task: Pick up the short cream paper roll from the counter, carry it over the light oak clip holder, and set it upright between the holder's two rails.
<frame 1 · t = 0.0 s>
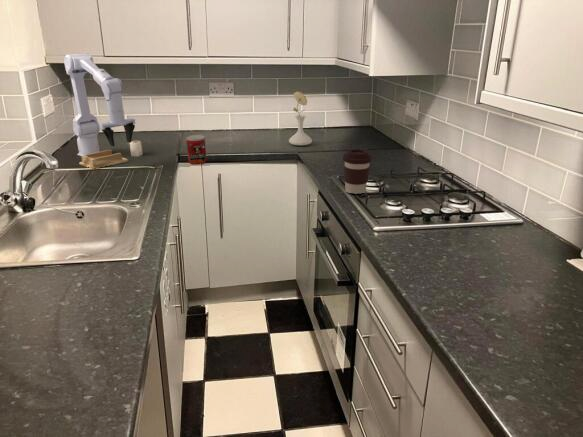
hand: (120, 143, 192), 10 cm above the worktop, tool pointing down, fingers open, 7 cm apart
canned food: (197, 162, 203), on the worktop
paper roll: (136, 154, 214), on the worktop
coffee cup: (355, 192, 169), on the worktop
clip holder: (104, 162, 203), on the worktop
flower in vase: (299, 144, 231), on the worktop
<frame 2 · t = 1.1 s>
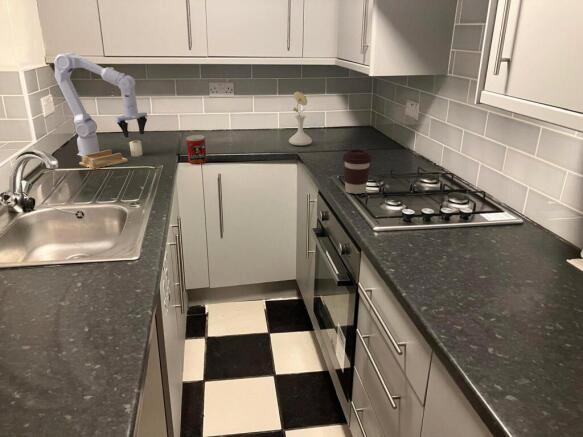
hand: (134, 135, 210), 9 cm above the worktop, tool pointing down, fingers open, 7 cm apart
nothing on the worktop moved.
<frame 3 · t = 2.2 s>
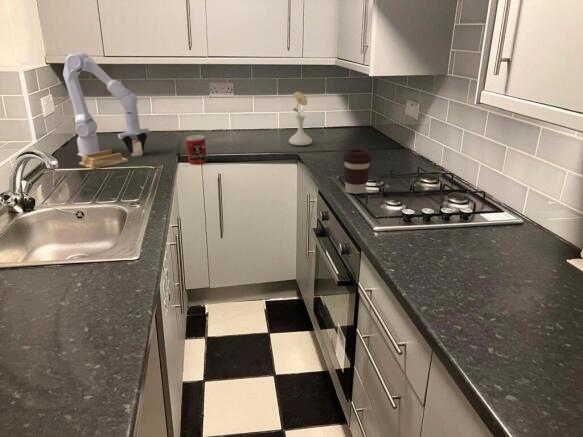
hand: (136, 151, 213), 2 cm above the worktop, tool pointing down, fingers closed on paper roll, 5 cm apart
paper roll: (136, 154, 214), on the worktop, touching gripper
everything else where it was.
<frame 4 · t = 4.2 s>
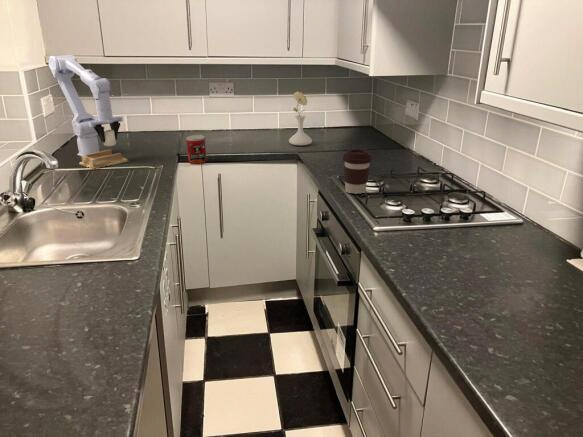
hand: (109, 140, 202), 9 cm above the worktop, tool pointing down, fingers closed on paper roll, 5 cm apart
paper roll: (110, 144, 202), point 7 cm above the worktop, touching gripper
everything else where it was.
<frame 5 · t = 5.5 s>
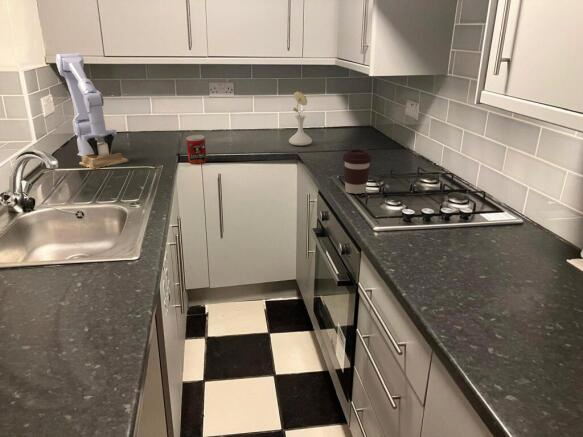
hand: (102, 153, 201), 4 cm above the worktop, tool pointing down, fingers closed on paper roll, 5 cm apart
paper roll: (103, 157, 202), point 2 cm above the worktop, touching gripper
everything else where it was.
when the fingers open (4 cm above the worktop, at t = 6.4 s): paper roll drops 1 cm, resting on clip holder.
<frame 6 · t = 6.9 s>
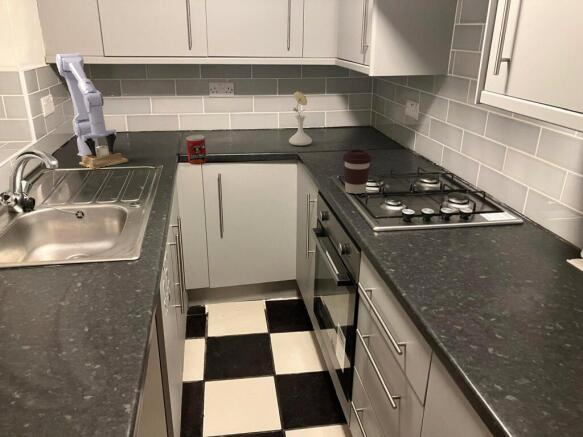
hand: (102, 153, 201), 4 cm above the worktop, tool pointing down, fingers open, 7 cm apart
paper roll: (103, 160, 202), point 1 cm above the worktop, touching clip holder
everything else where it was.
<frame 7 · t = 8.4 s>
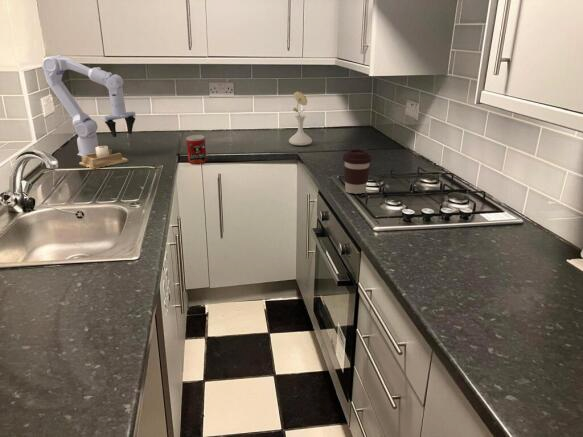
hand: (122, 135, 209), 9 cm above the worktop, tool pointing down, fingers open, 7 cm apart
nothing on the worktop moved.
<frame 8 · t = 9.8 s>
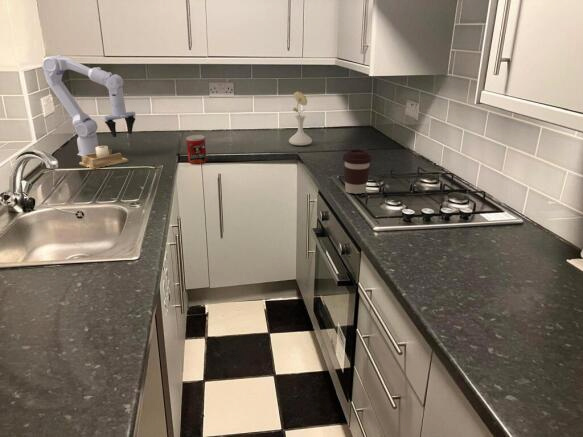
hand: (122, 135, 209), 9 cm above the worktop, tool pointing down, fingers open, 7 cm apart
nothing on the worktop moved.
at the end: paper roll 0.1 cm off-centre on the clip holder, point 0.8 cm above the clip holder's base; paper roll tilted 1°; the gripper is holding nothing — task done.
